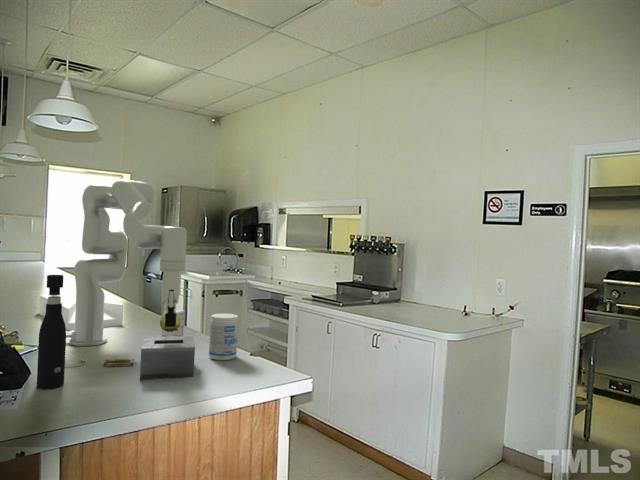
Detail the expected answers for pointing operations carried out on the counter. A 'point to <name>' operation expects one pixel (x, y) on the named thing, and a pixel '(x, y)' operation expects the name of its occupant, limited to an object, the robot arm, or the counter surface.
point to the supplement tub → (223, 336)
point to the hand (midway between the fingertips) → (170, 325)
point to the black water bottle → (52, 339)
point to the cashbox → (167, 357)
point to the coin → (169, 329)
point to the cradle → (118, 362)
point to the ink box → (180, 329)
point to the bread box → (111, 311)
